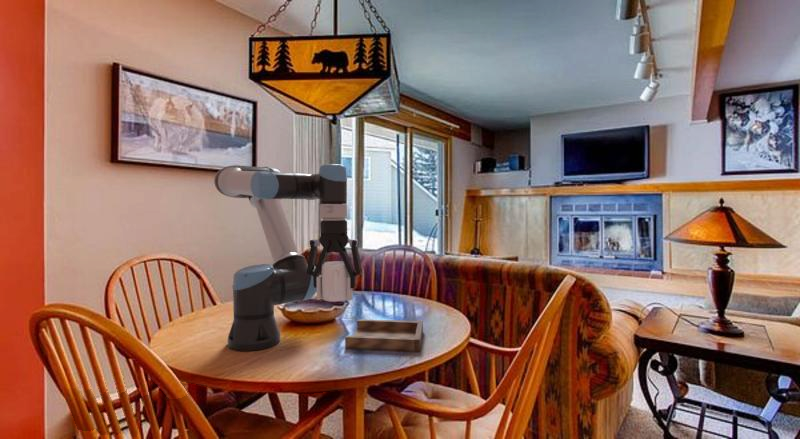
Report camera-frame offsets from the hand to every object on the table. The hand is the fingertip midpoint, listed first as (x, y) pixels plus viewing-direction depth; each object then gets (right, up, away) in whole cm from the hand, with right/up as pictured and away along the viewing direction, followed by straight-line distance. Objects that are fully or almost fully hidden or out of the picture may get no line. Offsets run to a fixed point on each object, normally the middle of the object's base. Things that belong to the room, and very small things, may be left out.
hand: (334, 299), depth 114 cm
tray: (+14, -15, +12) cm, 24 cm away
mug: (+1, 0, 0) cm, 1 cm away
